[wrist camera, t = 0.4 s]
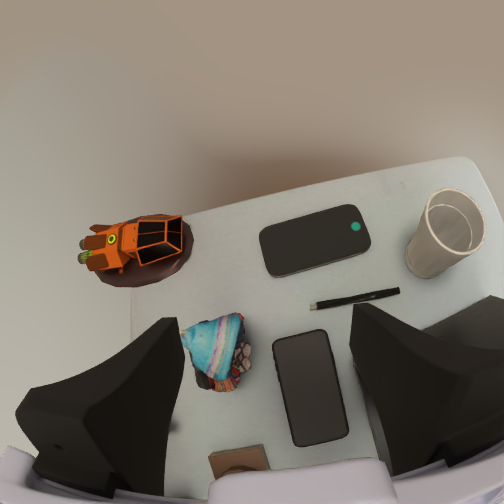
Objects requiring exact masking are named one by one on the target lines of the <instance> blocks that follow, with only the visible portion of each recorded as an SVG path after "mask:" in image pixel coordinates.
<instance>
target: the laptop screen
mask: <svg viewBox="0 0 504 504" xmlns="http://www.w3.org/2000/svg"><path fill="white" fill-rule="evenodd" d="M422 331H423V332H425V333H427V334H430V335H433V336H435V337H438V338H441V339H444V340H447V341H450V342H454V343H458V344H462V345H467V346H472V347H479V348H486V349H503V350H504V299H501V298H498V297H495V296H492V295H490V296H488V297H486V298H484V299H483V300H481V301H479V302H477V303H476V304H474V305H472V306H470V307H468V308H466V309H464V310H463V311H461V312H459V313H457V314H455V315H453V316H451V317H449V318H447V319H445V320H443V321H441V322H439V323H437V324H435V325H433V326H431V327H429V328H426V329H424V330H422ZM353 361H354V359H353ZM354 365H355V366H356V364H355V361H354ZM356 368H357V366H356ZM357 370H358V369H357Z"/></svg>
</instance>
